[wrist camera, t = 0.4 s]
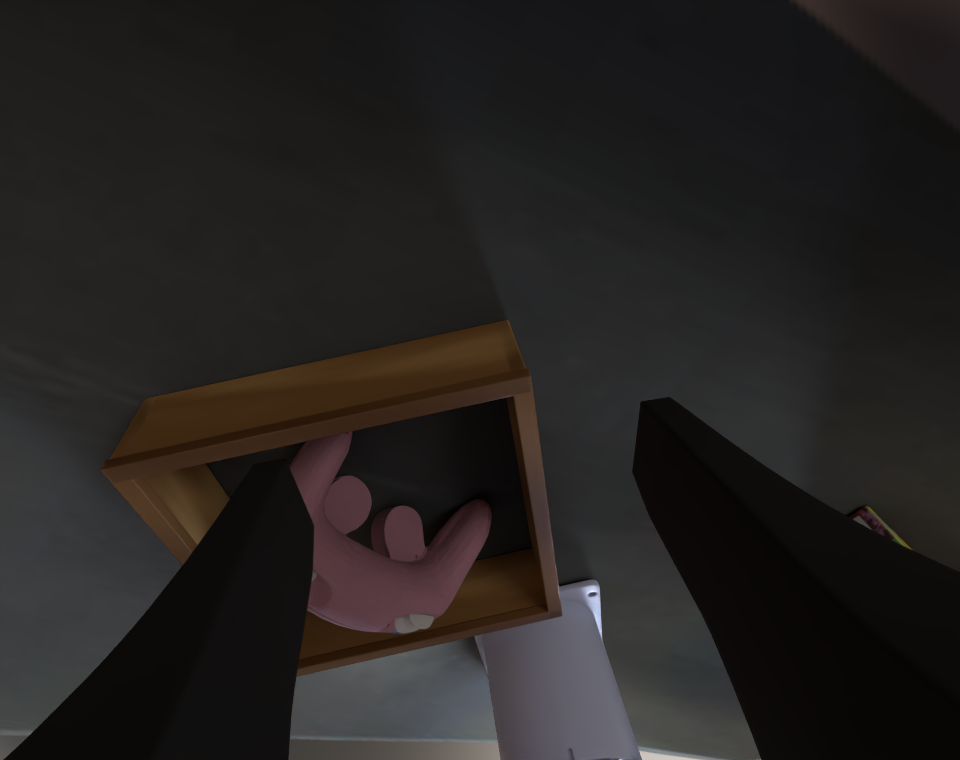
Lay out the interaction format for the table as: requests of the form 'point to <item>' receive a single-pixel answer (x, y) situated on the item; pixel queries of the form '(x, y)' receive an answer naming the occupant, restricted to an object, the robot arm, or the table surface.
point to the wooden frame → (335, 410)
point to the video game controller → (379, 549)
